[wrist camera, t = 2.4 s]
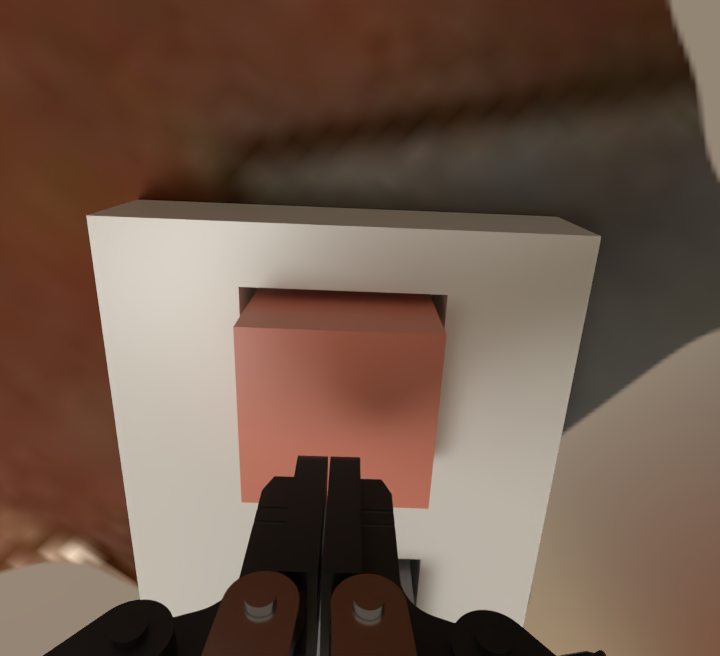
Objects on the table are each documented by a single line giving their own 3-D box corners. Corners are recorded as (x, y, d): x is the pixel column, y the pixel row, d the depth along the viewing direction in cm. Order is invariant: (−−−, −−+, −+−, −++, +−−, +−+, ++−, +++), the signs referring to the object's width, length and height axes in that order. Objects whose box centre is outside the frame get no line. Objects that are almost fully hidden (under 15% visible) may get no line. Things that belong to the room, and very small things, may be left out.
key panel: (557, 216, 20) (601, 236, 16) (486, 636, 28) (505, 714, 24) (137, 199, 20) (86, 215, 16) (182, 627, 28) (154, 704, 24)
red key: (429, 293, 19) (446, 335, 15) (416, 440, 21) (428, 508, 17) (258, 287, 19) (233, 326, 15) (263, 434, 21) (241, 502, 17)
